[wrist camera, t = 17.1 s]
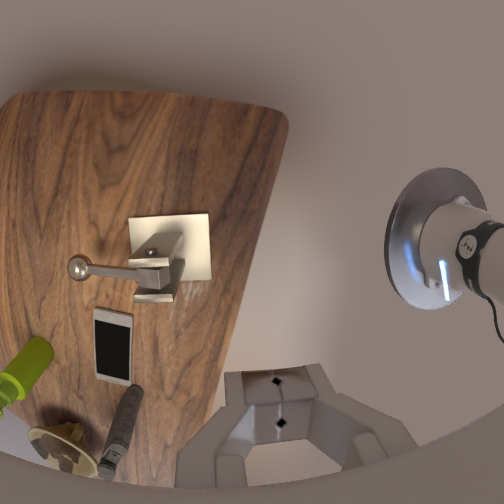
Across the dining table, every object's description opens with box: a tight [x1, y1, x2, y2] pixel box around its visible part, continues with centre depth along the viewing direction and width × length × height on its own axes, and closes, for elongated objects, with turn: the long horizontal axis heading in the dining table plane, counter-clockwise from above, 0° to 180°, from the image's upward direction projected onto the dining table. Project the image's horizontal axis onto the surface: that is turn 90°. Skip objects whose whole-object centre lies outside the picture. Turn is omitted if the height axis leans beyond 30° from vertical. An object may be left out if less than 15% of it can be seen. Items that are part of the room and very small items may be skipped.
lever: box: [67, 254, 170, 290], centre depth 34 cm, size 15×4×4 cm, turn 91°
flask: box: [97, 385, 143, 481], centre depth 43 cm, size 4×14×18 cm, turn 150°
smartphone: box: [93, 307, 133, 387], centre depth 47 cm, size 7×16×1 cm, turn 168°
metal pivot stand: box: [128, 213, 212, 303], centre depth 38 cm, size 12×10×15 cm
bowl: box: [28, 421, 98, 478], centre depth 48 cm, size 18×18×10 cm
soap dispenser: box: [0, 337, 54, 418], centre depth 37 cm, size 6×7×20 cm
